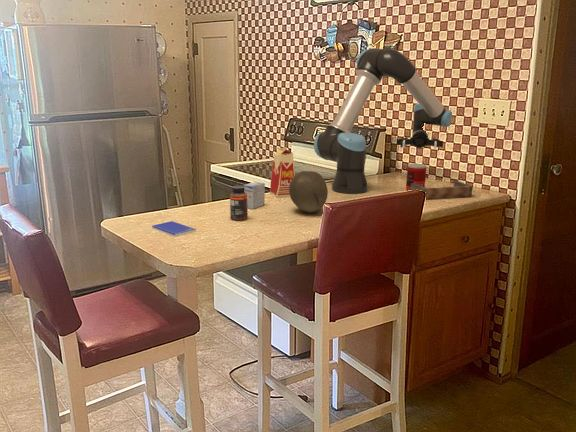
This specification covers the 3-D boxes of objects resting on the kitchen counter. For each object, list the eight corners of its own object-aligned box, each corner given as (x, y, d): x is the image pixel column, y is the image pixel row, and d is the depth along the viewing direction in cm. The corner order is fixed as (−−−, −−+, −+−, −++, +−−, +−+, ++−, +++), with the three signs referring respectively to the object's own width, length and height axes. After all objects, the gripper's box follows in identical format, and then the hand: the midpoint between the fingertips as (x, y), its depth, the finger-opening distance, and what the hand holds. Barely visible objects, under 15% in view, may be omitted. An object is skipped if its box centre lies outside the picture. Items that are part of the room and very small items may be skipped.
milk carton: (297, 196, 230) (299, 146, 225) (276, 197, 227) (277, 147, 222) (289, 191, 238) (290, 143, 233) (268, 192, 235) (269, 144, 230)
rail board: (423, 200, 228) (424, 189, 226) (410, 193, 238) (411, 183, 237) (471, 197, 234) (472, 186, 233) (456, 191, 244) (457, 180, 243)
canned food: (426, 190, 245) (429, 164, 242) (420, 193, 239) (422, 167, 236) (409, 187, 249) (411, 162, 246) (403, 191, 243) (404, 165, 240)
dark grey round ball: (330, 208, 212) (332, 169, 208) (322, 218, 199) (323, 176, 195) (293, 205, 216) (294, 166, 212) (283, 215, 202) (284, 173, 198)
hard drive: (196, 228, 182) (173, 220, 190) (174, 233, 176) (151, 225, 184) (196, 233, 182) (173, 225, 190) (174, 238, 176) (152, 230, 185)
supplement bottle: (244, 215, 201) (244, 184, 198) (249, 220, 196) (249, 187, 192) (228, 217, 199) (227, 185, 196) (232, 221, 193) (232, 189, 190)
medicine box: (255, 203, 218) (255, 181, 216) (264, 205, 216) (265, 182, 213) (243, 207, 211) (243, 184, 209) (253, 209, 209) (253, 186, 207)
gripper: (446, 148, 267) (448, 155, 247) (392, 145, 272) (389, 153, 252) (448, 131, 265) (449, 138, 245) (393, 129, 270) (390, 136, 250)
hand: (419, 145), depth 249 cm, fingers open, 13 cm apart
